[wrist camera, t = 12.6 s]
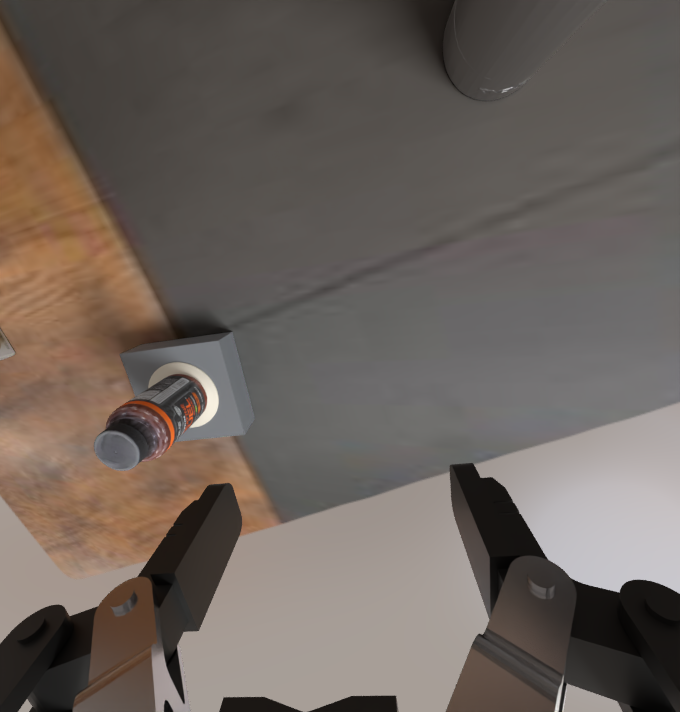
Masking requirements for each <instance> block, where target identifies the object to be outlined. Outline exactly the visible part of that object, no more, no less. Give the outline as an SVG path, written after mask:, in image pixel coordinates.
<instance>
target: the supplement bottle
mask: <svg viewBox="0 0 680 712" xmlns="http://www.w3.org/2000/svg"><path fill="white" fill-rule="evenodd" d="M206 406H207V395H206V392H205V390H204V388H203V386H202V385H201V384H200V382H198V381H197V380H196V379H194V378H192V377H190V376H188V375H184V374H173V375H170V376H168V377H166V378H164V379H162V380H161V381H159V382H158V383H156V384H154V385H153V386H151V387H150V388H148V389H147V390H145V391H144V392H142V393H141V394H139V395H137V396H136V397H134V398H133V399H131V400H130V401H128V402H126V403H125V404H124V405H122V406H120V407H119V408H118V409H116V410H115V411H114V412H113V413H112V414H111V415H110V416H109V418H108V420H107V423H106V430H105V431H103V432H102V433H100V434H99V435H98V436H97V438H96V439H95V442H94V450H95V453H96V455H97V457H98V458H99V459H100V461H101V462H103V464H105V465H106V466H108V467H110V468H112V469H115V470H120V471H125V470H130V469H132V468H134V467H135V466H136V465H137V464H138V463H139V462H141V461H142V462H144V461H151V460H154V459H156V458H158V457H160V456H161V455H163V454H164V453H165V452H166V451H167V450H168V449H169V448H170V447H171V446H172V445H173V444H174V443H175V442H176V441H177V440H178V439H179V438H180V436H181V435H182V434H183V433H184V432H185V431H186V430H187V429H188V428H189V427H190V426H191V425H192V424H193V423H194V422H195V421H196V420H197V419H198V418H199V417H200V416H201V415H202V414H203V412H204V411H205V409H206Z"/></svg>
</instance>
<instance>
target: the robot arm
mask: <svg viewBox="0 0 680 712" xmlns="http://www.w3.org/2000/svg"><path fill="white" fill-rule="evenodd" d="M606 2H607V0H455V2H454V4H453V7H452V10H451V12H450V15H449V18H448V21H447V24H446V27H445V31H444V38H443V58H444V63H445V67H446V70H447V73H448V75H449V77H450V79H451V81H452V82H453V84H454V85H455V86H456V88H457V89H458V90H460V91H461V92H462V93H463V94H465V95H466V96H468V97H471V98H473V99H476V100H481V101H492V100H497V99H501V98H504V97H506V96H508V95H510V94H512V93H513V92H515V91H517V90H518V89H519V88H520V87H521V86H523V85H524V84H525V83H526V82H527V81H528V80H529V79H530V78H531V77H532V76H533V75H534V74H535V73H536V72H537V71H538V70H539V69H540V68H541V67H542V66H543V65H544V64H545V63H546V62H547V61H548V60H549V59H550V58H551V57H552V56H553V55H554V54H555V53H556V52H557V51H558V50H559V49H560V48H561V47H562V46H563V45H564V44H565V43H566V42H567V41H568V40H569V39H570V38H571V37H572V36H573V35H574V34H575V33H576V32H577V31H578V30H579V29H580V28H581V27H582V26H583V25H584V24H585V23H586V22H587V21H588V20H589V19H590V18H591V17H592V16H593V15H594V14H595V13H596V12H597V11H598V10H599V9H600V8H601V7H602V6H603V5H604V4H605V3H606ZM450 481H451V500H452V507H453V512H454V517H455V520H456V523H457V526H458V529H459V532H460V535H461V538H462V541H463V543H464V546H465V549H466V552H467V555H468V558H469V561H470V564H471V567H472V570H473V573H474V576H475V579H476V581H477V584H478V587H479V590H480V593H481V596H482V599H483V602H484V605H485V608H486V611H487V614H488V617H489V622H488V625H487V628H486V630H485V632H484V634H483V635H481V634H478V635H477V636H476V638H475V640H474V642H473V644H472V646H471V649H470V651H469V654H468V656H467V659H466V661H465V664H464V667H463V669H462V672H461V674H460V677H459V679H458V682H457V684H456V687H455V689H454V692H453V694H452V697H451V699H450V702H449V705H448V707H447V710H446V712H563V710H564V703H565V697H566V691H567V685H568V684H570V685H573V686H576V687H579V688H582V689H585V690H587V691H590V692H593V693H596V694H599V695H601V696H604V697H607V698H610V699H613V700H616V701H618V703H619V705H620V707H621V709H622V711H623V712H680V594H679V593H677V592H675V591H673V590H672V589H670V588H668V587H665V586H663V585H661V584H658V583H655V582H651V581H646V580H632V581H628V582H626V583H625V584H624V585H623V586H622V588H621V590H620V593H619V592H614V591H610V590H606V589H602V588H598V587H593V586H589V585H586V584H582V583H580V582H577V581H575V580H573V579H571V578H570V577H569V576H568V575H567V574H566V573H565V571H563V569H561V568H560V567H559V566H557V565H556V564H554V563H553V562H551V561H549V560H548V559H547V557H546V556H545V554H544V553H543V551H542V549H541V548H540V546H539V544H538V542H537V541H536V539H535V537H534V536H533V534H532V532H531V531H530V529H529V527H528V526H527V524H526V522H525V521H524V519H523V518H522V516H521V514H519V511H518V509H517V507H516V505H515V504H514V503H513V501H512V499H511V497H510V495H509V494H508V492H507V490H506V489H505V487H503V486H502V485H501V484H500V483H498V482H497V481H496V480H495V479H493V478H491V477H490V478H480V476H479V474H478V472H477V470H476V468H475V466H474V464H473V463H466V464H454V465H450ZM241 528H242V516H241V512H240V509H239V506H238V503H237V499H236V496H235V493H234V490H233V487H232V485H231V484H230V483H225V484H213V485H209V486H207V488H206V489H205V490H204V492H203V494H202V495H201V497H200V498H199V500H195V501H193V502H192V503H191V504H190V505H189V506H188V507H187V508H186V509H184V510H183V511H182V512H181V514H180V515H179V517H178V518H177V520H176V521H175V523H174V526H173V527H171V529H170V530H169V531H168V533H167V534H166V537H164V539H163V540H162V542H161V543H160V545H159V546H158V548H157V549H156V551H155V552H154V553H153V555H152V556H151V558H150V559H149V561H148V562H147V564H146V565H145V567H144V568H143V570H142V571H141V573H140V574H139V575H138V577H136V578H132V579H129V580H127V581H125V582H123V583H122V584H120V585H119V586H117V587H116V588H114V589H113V590H112V591H111V592H110V593H109V594H108V595H107V596H106V597H105V598H104V599H103V600H102V602H101V603H100V604H99V606H98V607H95V608H92V609H89V610H86V611H84V612H81V613H78V614H75V615H72V616H69V615H68V613H67V611H66V609H65V608H64V607H63V606H62V605H51V606H48V607H45V608H43V609H41V610H39V611H37V612H35V613H34V614H32V615H30V616H29V617H27V618H26V619H25V620H24V621H22V622H21V623H20V624H19V625H17V626H16V627H15V628H14V629H13V630H12V631H11V632H10V634H8V636H7V637H6V638H5V639H4V640H3V641H2V643H1V644H0V712H18V711H19V709H20V708H21V706H22V705H23V704H24V702H25V701H26V699H28V700H29V702H30V703H31V705H32V706H33V707H32V708H31V710H30V711H29V712H191V710H190V704H189V698H188V691H187V685H186V679H185V672H184V666H183V660H182V654H181V648H180V645H179V640H180V638H181V636H182V634H183V632H186V631H199V629H200V627H201V624H202V622H203V620H204V617H205V615H206V612H207V610H208V608H209V605H210V603H211V601H212V598H213V596H214V594H215V591H216V589H217V587H218V584H219V582H220V580H221V577H222V575H223V573H224V570H225V568H226V566H227V563H228V561H229V559H230V556H231V554H232V552H233V549H234V547H235V544H236V542H237V540H238V537H239V535H240V532H241ZM219 712H302V711H299V710H296V709H294V708H291V707H289V706H286V705H283V704H281V703H278V702H276V701H273V700H270V699H268V698H265V697H226V698H223V701H222V705H221V708H220V711H219ZM309 712H398V706H397V699H396V696H351V697H348V698H345V699H342V700H340V701H337V702H334V703H332V704H329V705H326V706H323V707H320V708H318V709H315V710H312V711H309Z"/></svg>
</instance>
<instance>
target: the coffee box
mask: <svg viewBox="0 0 680 712" xmlns="http://www.w3.org/2000/svg"><path fill="white" fill-rule="evenodd" d="M13 355H15V351H14V350H13V348H12V347H11V345H10V343H9V342H8V340H7V338H6V337H5V335H4V333H3V332H2V330H1V329H0V360H2V359H5V358H8V357H10V356H13Z"/></svg>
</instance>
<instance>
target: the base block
mask: <svg viewBox="0 0 680 712" xmlns="http://www.w3.org/2000/svg"><path fill="white" fill-rule="evenodd" d="M120 357H121V359H122V362H123V365H124V367H125V370H126V373H127V375H128V378H129V380H130V383H131V386H132V388H133V391H134V394H135V396H137V395H139V394H141V393H142V392H144V391H145V390H147V389H148V388H150V387H151V386H153V385H154V384H156V383H158V382H159V381H161V380H162V379H164V378H166V377H168V376H170V375H173V374H184V375H188V376H190V377H192V378H194V379H196V380H197V381H198V382H200V384H201V385H202V386H203V388H204V390H205V392H206V395H207V406H206V409H205V411H204V412H203V414H202V415H201V416H200V417H199V418H198V419H197V420H196V421H195V422H194V423H193V424H192V425H191V426H190V427H189V428H188V429H187V430H186V431H185V432H184V433H183V434H182V435H181V436H180V438H179V439H178V440H177V441H176V442H178V441H188V440H198V439H207V438H217V437H227V436H237V435H245V433H246V432H247V430H248V429H249V427H250V425H251V424H252V422H253V421H254V419H255V417H254V413H253V409H252V405H251V401H250V397H249V394H248V390H247V386H246V382H245V378H244V375H243V371H242V367H241V363H240V359H239V355H238V352H237V348H236V344H235V340H234V336H233V333H232V332H226V333H219V334H212V335H205V336H198V337H190V338H183V339H176V340H169V341H162V342H154V343H147V344H141V345H139V346H137V347H134V348H132V349H130V350H128V351H125V352H123V353H121V354H120Z"/></svg>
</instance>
